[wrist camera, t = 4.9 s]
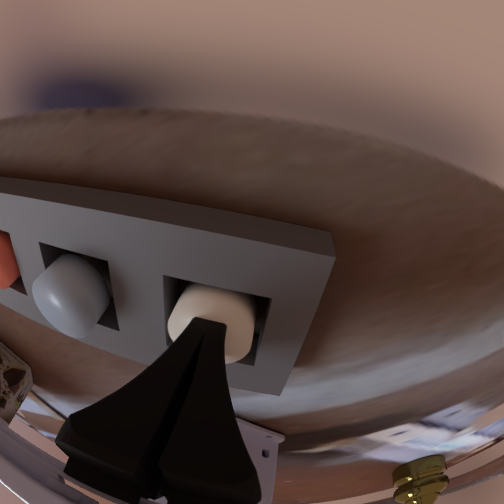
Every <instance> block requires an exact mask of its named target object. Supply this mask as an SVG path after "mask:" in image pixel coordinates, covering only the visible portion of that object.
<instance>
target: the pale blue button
mask: <svg viewBox="0 0 504 504" xmlns="http://www.w3.org/2000/svg"><path fill="white" fill-rule="evenodd" d="M32 293H33V297H34V300H35V303H36V305H37V307H38V308H39V310H40V312H41V313H42V314H43V316H44V317H45V318H46V319H47V320H48V322H49V323H50V324H52V325H53V326H54V327H55V328H56V329H58V330H59V331H60V332H62V333H64V334H66V335H68V336H70V337H73V338H78V339H80V338H85V337H87V336H88V335H89V333H90V332H91V330H92V329H93V327H94V326H95V324H96V323H97V322H98V320H99V319H100V317H101V316H102V314H103V313H104V312H105V310H106V309H107V307H108V306H109V303H110V293H109V289H108V287H107V284H106V282H105V280H104V279H103V277H102V276H101V274H100V273H99V272H98V271H97V269H96V268H95V267H94V266H93V265H91V264H90V263H89V262H88V261H86V260H85V259H83V258H82V257H80V256H77V255H74V254H63V255H61V256H60V257H58V258H57V259H56V260H55V261H54V262H53V263H52V264H51V265H50V266H49V267H48V268H47V269H46V270H45V271H44V272H43V273H42V274H41V275H40V276H39V277H38V278H37V279H36V280H35V281H34V282H33V285H32Z"/></svg>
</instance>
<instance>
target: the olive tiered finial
mask: <svg viewBox="0 0 504 504" xmlns="http://www.w3.org/2000/svg"><path fill="white" fill-rule="evenodd" d="M446 470H447V467H446V461H445V457H444V456H442V455H433V456H428V457H424V458H421V459H417V460H414V461H412V462H409V463H407V464H404V465H402V466H400V467H399V468H397V469H396V470H394V472H393V473H392V477H393V486H394V487H398V489H397V490H396V491H395V492H394V495H393V499H394V500H395V501H396V502H399V503H404V504H434V502H435V501H436V499H437V498H438V497H439V496H440V492H441V491H443V490H444V489H445V488H446V487H447V486H448V484H449V478H448V476H446V475H444V474H443V473H444V472H446Z"/></svg>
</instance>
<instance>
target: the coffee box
mask: <svg viewBox="0 0 504 504" xmlns="http://www.w3.org/2000/svg"><path fill="white" fill-rule="evenodd" d="M32 387H33V379H32V373H31V367H30V366H29V365H28V364H26V363H25V362H24V361H23V360H21V359H20V358H19V357H18V356H17V355H15V354H14V353H13V352H12V351H11V350H10V349H9V348H7V347H6V346H5V345H4V344H3V343H2V342H1V341H0V421H1V422H2V423H3V424H5V425H6V426H7V427H8V426H9V424H10V422H11V421H12V419H13V417H14V416H15V414H16V412H17V411H18V409H19V408H20V406H21V404H22V403H23V401H24V400H25V398H26V396H27V395H28V393H29V392H30V390H31V389H32Z"/></svg>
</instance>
